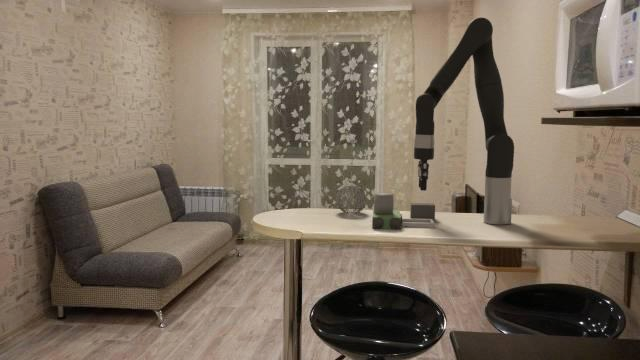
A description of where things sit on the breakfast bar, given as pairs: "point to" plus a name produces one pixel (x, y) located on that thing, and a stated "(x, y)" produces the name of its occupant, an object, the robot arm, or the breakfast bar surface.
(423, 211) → the grey rectangular block
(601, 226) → the breakfast bar surface
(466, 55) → the robot arm
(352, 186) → the pendant light
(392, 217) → the toy tractor
